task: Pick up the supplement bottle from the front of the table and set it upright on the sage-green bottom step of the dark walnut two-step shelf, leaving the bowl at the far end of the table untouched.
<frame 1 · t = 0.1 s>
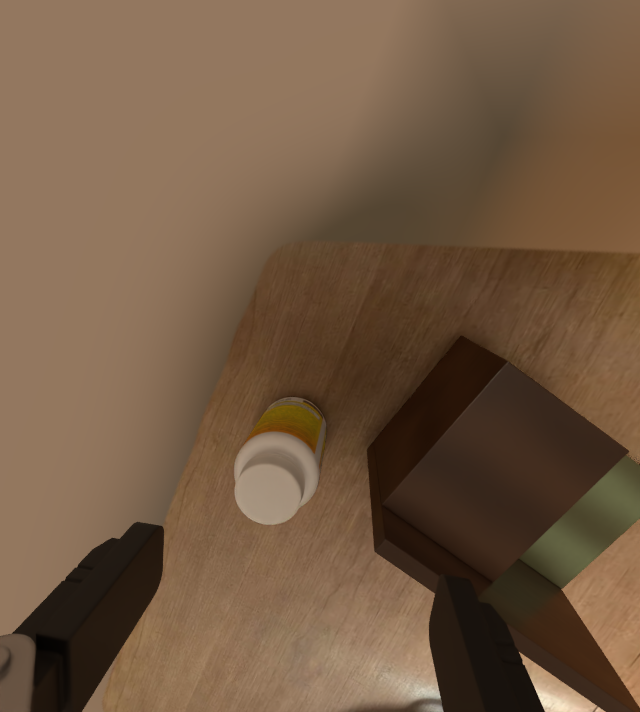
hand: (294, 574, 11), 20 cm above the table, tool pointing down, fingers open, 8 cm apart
shelf: (500, 458, 31), on the table
supplement bottle: (295, 425, 32), on the table
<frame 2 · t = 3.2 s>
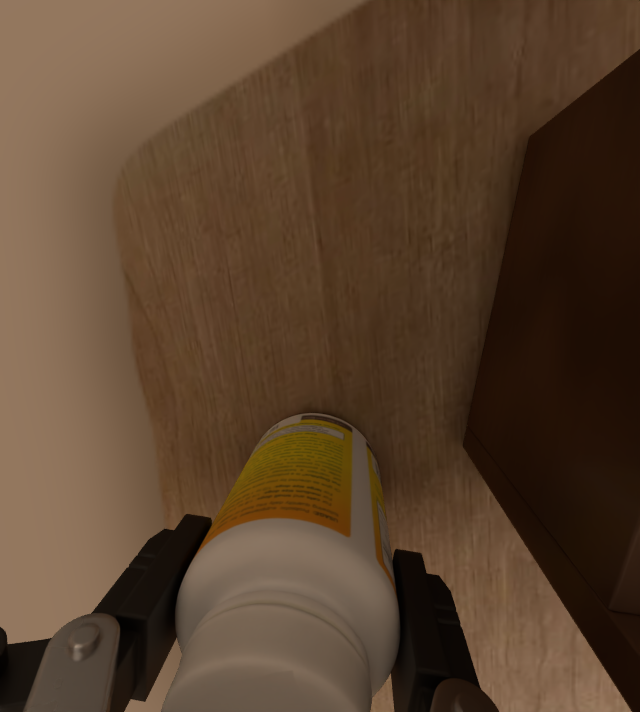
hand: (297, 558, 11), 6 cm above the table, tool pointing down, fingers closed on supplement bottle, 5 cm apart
supplement bottle: (316, 465, 17), on the table, touching gripper
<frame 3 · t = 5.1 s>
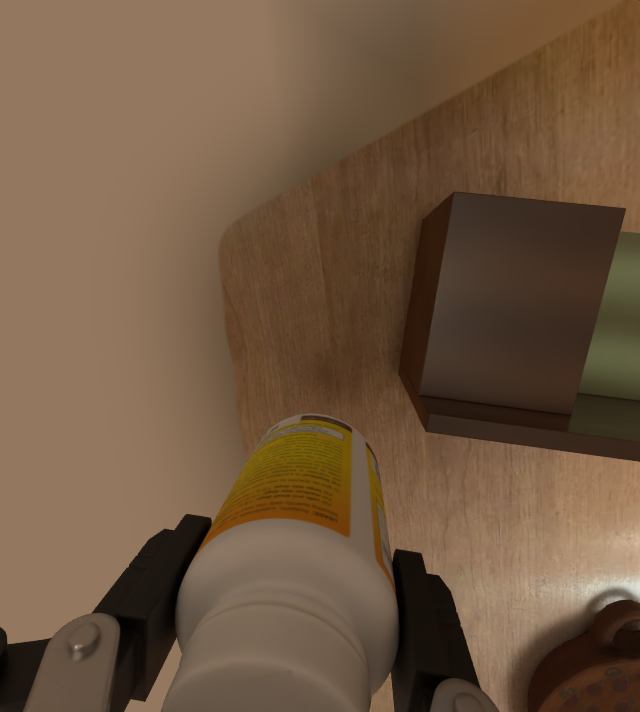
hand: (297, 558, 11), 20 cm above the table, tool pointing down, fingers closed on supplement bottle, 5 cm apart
shelf: (528, 313, 29), on the table
dish: (603, 688, 35), on the table
supplement bottle: (316, 465, 17), point 15 cm above the table, touching gripper
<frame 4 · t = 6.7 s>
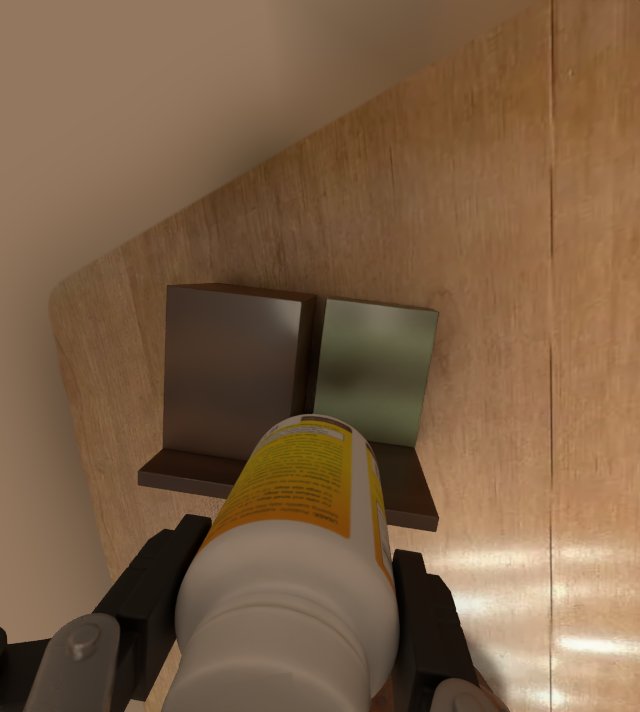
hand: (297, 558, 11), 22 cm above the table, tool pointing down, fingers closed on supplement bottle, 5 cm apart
shelf: (314, 365, 33), on the table
dish: (413, 690, 39), on the table
supplement bottle: (316, 466, 17), point 16 cm above the table, touching gripper
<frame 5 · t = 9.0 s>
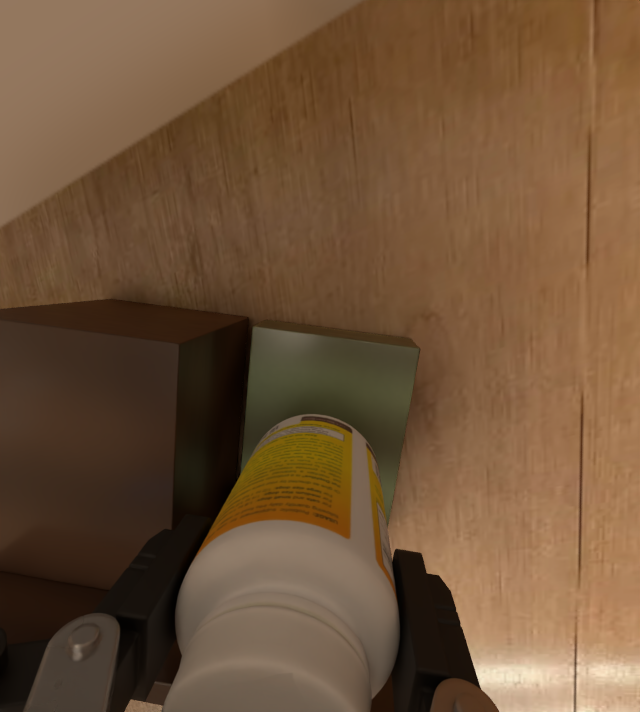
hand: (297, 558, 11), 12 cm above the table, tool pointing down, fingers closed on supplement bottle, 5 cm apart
shelf: (249, 414, 23), on the table
supplement bottle: (316, 466, 17), point 6 cm above the table, touching gripper
when the fingers open (9 cm above the table, at t = 10.5 s): supplement bottle stays where it is, resting on shelf.
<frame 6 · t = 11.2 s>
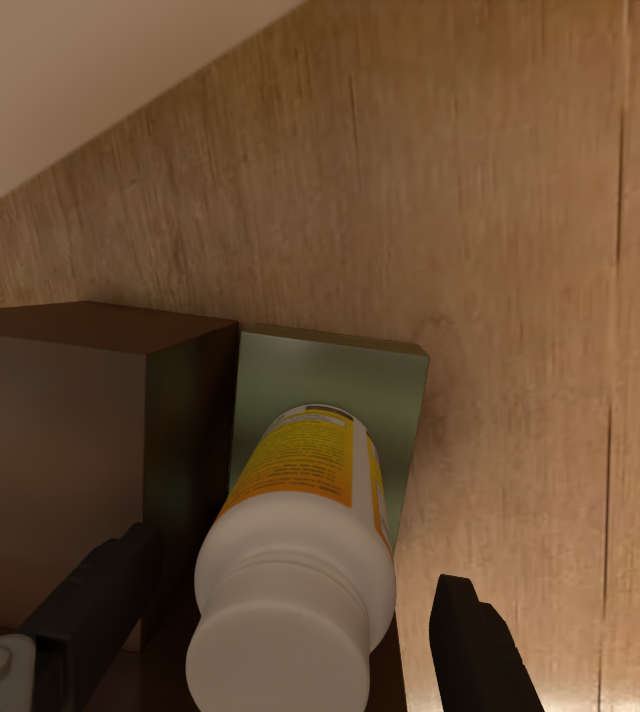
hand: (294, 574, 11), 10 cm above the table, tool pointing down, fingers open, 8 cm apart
shelf: (239, 427, 21), on the table
supplement bottle: (319, 454, 18), point 3 cm above the table, touching shelf
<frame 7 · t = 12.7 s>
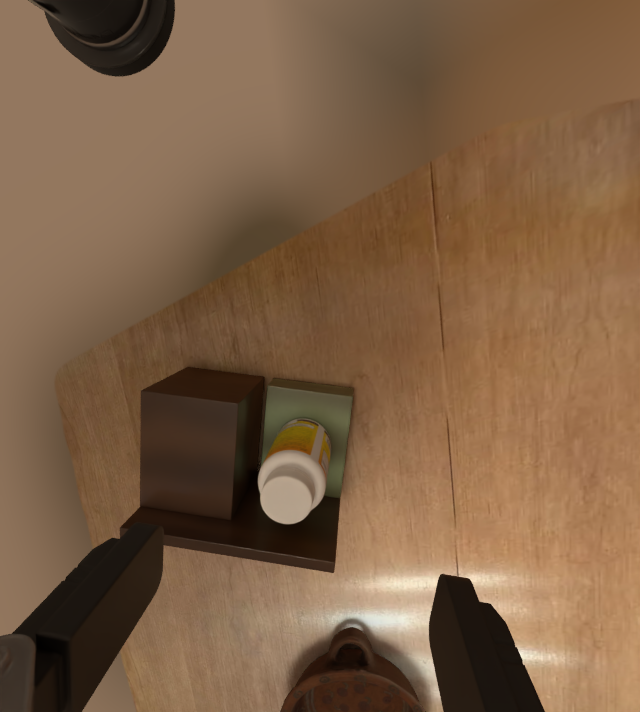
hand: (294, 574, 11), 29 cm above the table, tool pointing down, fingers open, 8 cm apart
shelf: (264, 430, 41), on the table
dish: (355, 690, 47), on the table
supplement bottle: (304, 441, 38), point 3 cm above the table, touching shelf
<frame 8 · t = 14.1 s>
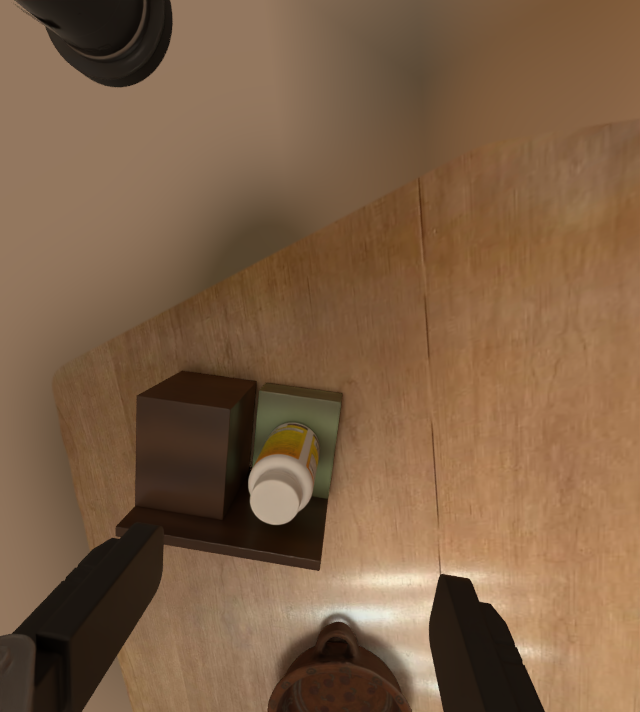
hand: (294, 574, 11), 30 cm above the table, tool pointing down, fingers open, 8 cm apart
shelf: (256, 432, 43), on the table
dish: (341, 682, 49), on the table
supplement bottle: (294, 444, 40), point 3 cm above the table, touching shelf
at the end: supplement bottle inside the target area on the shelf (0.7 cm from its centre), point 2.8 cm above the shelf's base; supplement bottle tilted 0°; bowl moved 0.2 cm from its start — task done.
